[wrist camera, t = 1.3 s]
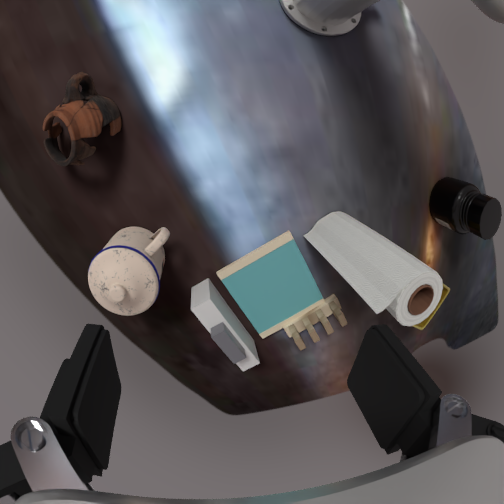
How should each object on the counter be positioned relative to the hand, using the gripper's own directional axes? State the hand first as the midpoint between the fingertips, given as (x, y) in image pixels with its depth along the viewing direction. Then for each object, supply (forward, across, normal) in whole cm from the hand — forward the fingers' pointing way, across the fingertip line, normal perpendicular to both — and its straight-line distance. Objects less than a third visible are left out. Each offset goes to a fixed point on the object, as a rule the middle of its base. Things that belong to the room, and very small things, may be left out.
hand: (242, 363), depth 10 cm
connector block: (+32, -3, +19) cm, 37 cm away
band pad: (+32, -10, +14) cm, 36 cm away
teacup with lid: (+32, +9, +9) cm, 34 cm away
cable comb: (+32, -18, +19) cm, 41 cm away
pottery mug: (+32, +18, -9) cm, 38 cm away
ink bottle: (+32, -41, -3) cm, 52 cm away
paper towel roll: (+32, -18, +4) cm, 37 cm away
